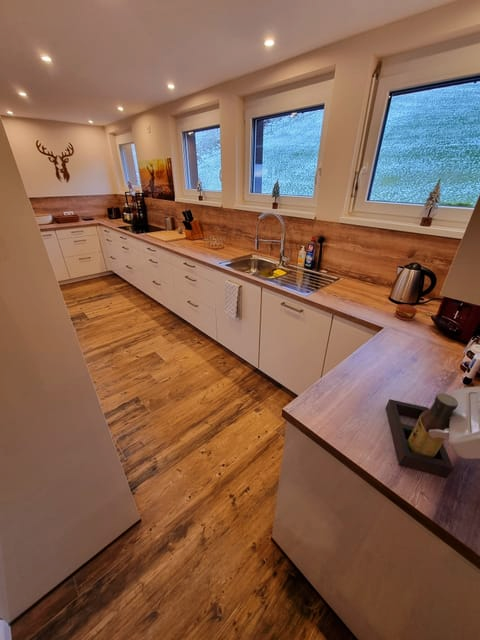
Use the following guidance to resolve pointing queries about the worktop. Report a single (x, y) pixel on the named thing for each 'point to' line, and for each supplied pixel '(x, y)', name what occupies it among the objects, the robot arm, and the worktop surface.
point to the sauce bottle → (432, 418)
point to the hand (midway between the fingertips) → (431, 422)
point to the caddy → (402, 432)
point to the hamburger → (405, 312)
